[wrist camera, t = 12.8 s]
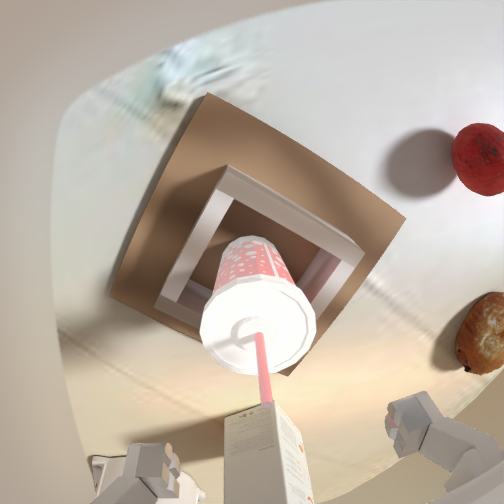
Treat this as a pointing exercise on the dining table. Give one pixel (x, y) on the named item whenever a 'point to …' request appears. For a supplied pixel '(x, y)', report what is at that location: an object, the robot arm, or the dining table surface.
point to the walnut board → (250, 221)
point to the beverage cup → (256, 314)
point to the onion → (480, 158)
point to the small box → (264, 459)
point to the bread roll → (483, 336)
